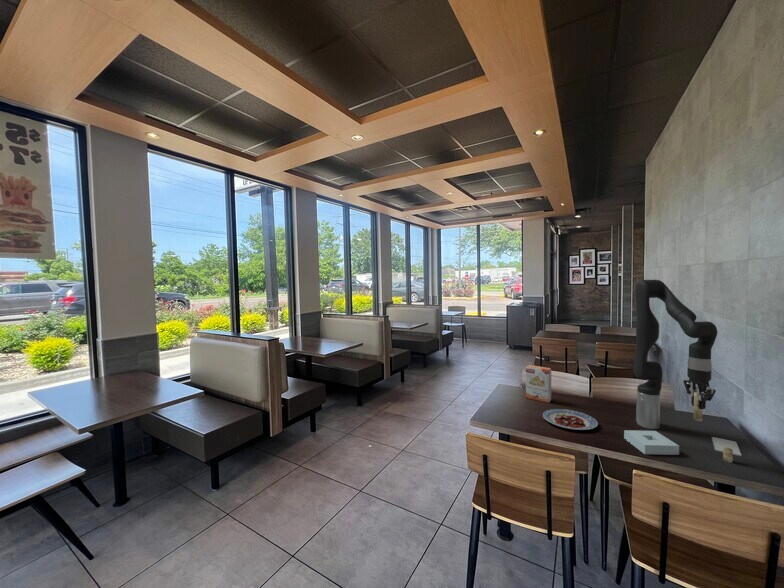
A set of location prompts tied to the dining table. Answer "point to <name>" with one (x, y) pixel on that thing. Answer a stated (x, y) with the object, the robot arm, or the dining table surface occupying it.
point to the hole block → (651, 442)
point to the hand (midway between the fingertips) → (698, 407)
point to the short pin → (728, 455)
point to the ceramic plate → (570, 419)
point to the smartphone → (726, 445)
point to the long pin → (697, 411)
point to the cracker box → (538, 383)
